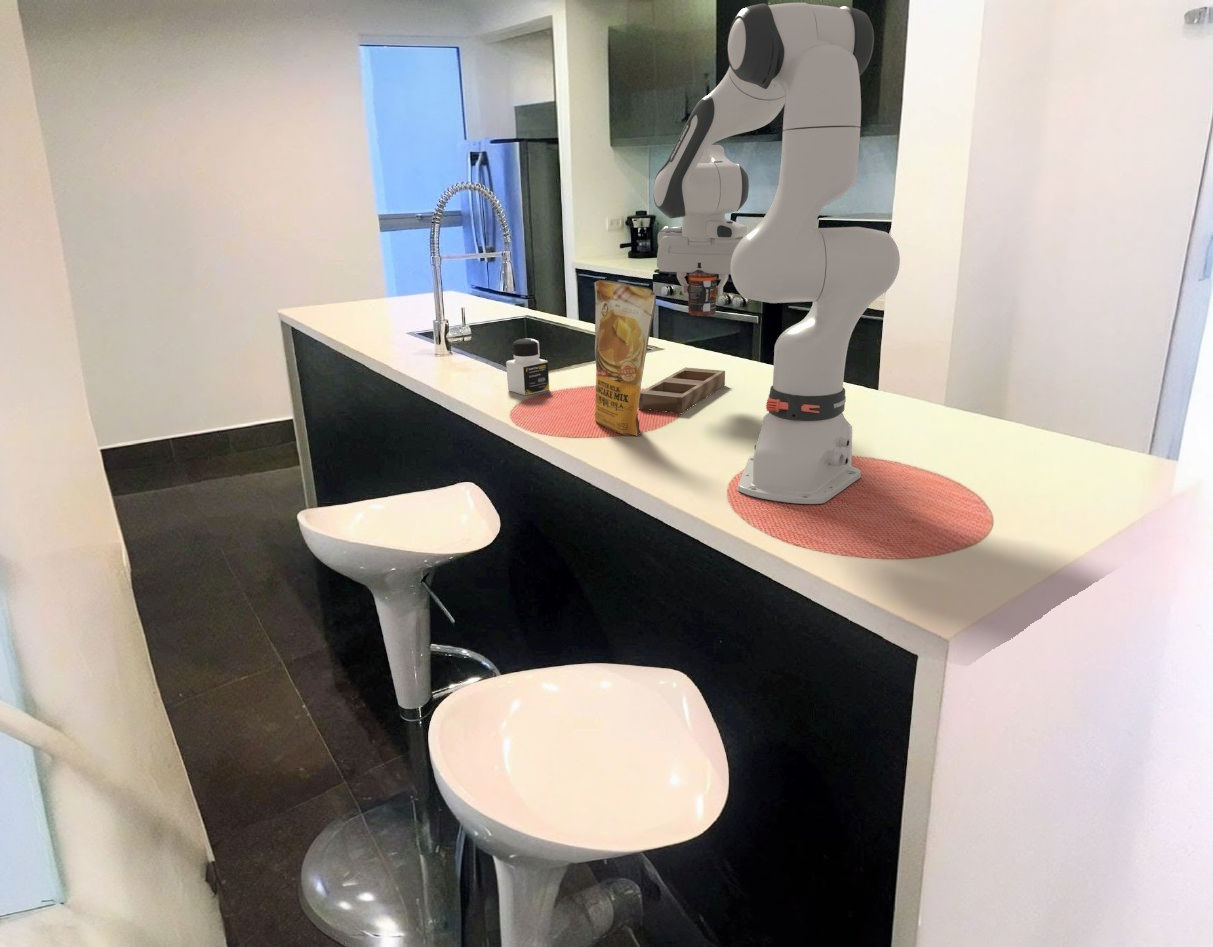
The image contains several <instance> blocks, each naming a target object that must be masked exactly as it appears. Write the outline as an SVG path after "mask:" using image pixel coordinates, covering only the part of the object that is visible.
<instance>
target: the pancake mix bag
mask: <svg viewBox="0 0 1213 947" xmlns="http://www.w3.org/2000/svg"><path fill="white" fill-rule="evenodd" d="M593 286H594V299H595V300H594V303H595V304H594V310H595V316H594V317H595V318H594V319H595V320H594V323H595V324H594V333H595V335H594V336H595V337H594V338H595V339H594V356H595V372H596V374H595V395H594V396H595V398H594V399H595V400H594V401H595V404H594V405H595V408H594V409H595V410H594V411H595V412H594V418H595V419H594V420H595V422H596V423H598V424H599V425H601V426H603V427H604V426H605V428H607V429H608V430H612V431H613V430H614V431H613V432H615V433H616V432H618V433H617V434H619V433H620V434H619V435H621V434H623V435H622V436H627V435H626V434H633V435H632V436H634V435H635V436H636V437H638V436H639V435H640V434H641V433H640V432H641V429H640V421H639V418H638V415H639V414H638V412H639V411H638V410H639V409H638V404H639V398H640V392H641V389H642V388H641V387H642V381H643V375H644V368H645V363H646V356H647V351H648V347H649V340H650V335H651V327H652V322H653V319H654V315H655V311H656V306H657V305H656V304H657V297H656V296H657V294H655V292H654V291H653V289H651V288H648V287H644V286H637V285H633V284H632V285H631V284H628V283H625V282H619V281H612V280H605V279H604V280H603V279H602V280H601V279H598V280H597V281H595V282H593ZM639 433H640V434H639ZM638 434H639V435H638ZM635 436H634V437H635Z"/></svg>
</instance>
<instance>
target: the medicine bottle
mask: <svg viewBox="0 0 1213 947" xmlns="http://www.w3.org/2000/svg"><path fill="white" fill-rule="evenodd" d="M512 352H513V354H512V355H513V359H511V360H507V361H506V362H505V365H506V366H505V367H506V379H507V390H508V391H509V392H512V393H517V394H520V395H522V396H529V395H534V394H537V393H543V392H547V391H549V390H550V378H549V375H550V374H549V361H548V360H547V359H546V360H545V359H542V358H540V357H541V356H540V342H539V340H536V339H534V338H519V339H517V340H515V341H513V343H512Z"/></svg>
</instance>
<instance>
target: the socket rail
mask: <svg viewBox="0 0 1213 947" xmlns="http://www.w3.org/2000/svg"><path fill="white" fill-rule="evenodd" d="M724 385H725V386H726V371H725V370H721V369H720V370H718V369H708V368H696V367H695V368H694V367H683V368H682V369H680V370H678V371H676V372H674V373H673V374H670V375H669V376H667V377H665V378H664V379H661V380H660V381H658V382H656V383H654V384H652V385H651V386H649V387H647V388H645V389H644V390H642V391H641V390H640V398H639V404H638V408H640V409H639V410H642V409H651V410H657V411H656V412H660V411H667V412H666V413H669V412H673V413H672V414H678V413H682V414H684V413H685V412H687V411H688V410H690V409H691V408H693V407H694V406H696V405H697V404H699V403H701V402H702V401H704V400H705V399H707V398H708V397H710V396H711V395H712V393H713V392H714V393H716V392H717V391H719V390H720V389H722V388H723V387H725V386H724ZM722 386H723V387H722ZM721 387H722V388H721ZM719 388H720V389H719ZM718 389H719V390H718ZM716 390H717V391H716ZM715 391H716V392H715ZM714 393H713V394H714ZM710 394H711V395H710ZM709 395H710V396H709ZM707 396H708V397H707ZM706 397H707V398H706ZM703 399H704V400H703ZM695 404H696V405H695ZM693 405H694V406H693ZM692 406H693V407H692ZM690 407H691V408H690ZM689 408H690V409H689ZM687 409H688V410H687ZM651 410H650V411H651ZM683 412H684V413H683Z"/></svg>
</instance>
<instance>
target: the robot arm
mask: <svg viewBox="0 0 1213 947" xmlns="http://www.w3.org/2000/svg"><path fill="white" fill-rule="evenodd" d="M872 24H873V23H872V22H871V19H870V17H869V16H868V14H867V13H866V12H864V11H862V10H861V9H858V8H854V7H850V6H841V7H836V6H829V5H824V4H811V3H810V4H809V3H808V2H784V3H783V2H782V3H777V4H776V3H775V4H767V3H764V2H763V3H757V4H754V5H749V6H746V7H745V8H742V9H741V10H740V11H739V12H738V13H737V15H736V16H735V17H734V19H733V21H732V23H731V26H730V29H729V34H728V41H727V58H728V63H729V64H728V65H729V67H728V69H727V71H726V72H725V73H726V74H725V75H724V77H723V78H722V80H721V81H720V82H719V83H718V85H717V86H716V87H715V88H714V89H713V90H711V92H710V93H708V95H705V96H704V97H703V98H701V99H700V100H698V102H697V103H696V105H695V106H694V108H693V110H692V112H691V113H690V115H689V117H688V120H687V121H686V123H685V125H684V127H683V128H682V130H681V132H680V134H679V136H678V139H677V141H676V142H675V144H674V147H673V149H672V151H671V152H670V155H669V156H668V158H667V159H666V162H665V163H664V164H663V165H662V166H661V168H660V169H659V170H658V172H657V173H656V176H655V178H654V182H653V189H652V190H653V192H652V193H653V201H654V205H655V207H656V208H658V210H659V211H660V212H661V213H662V214H664V216H666V217H668V218H669V219H676V218H681V226H674V227H673V226H672V227H671V226H664V227H663V228H662V229H660V230H659V232H658V233H657V245H658V248H657V255H656V256H657V257H656V268H657V269H658V270H659V272H668V273H669V272H670V273H676V278H677V280H678V282H679V284H680V285H681V294H683V295H684V294H685V295H686V294H687V295H688V292H689V283H687V280H686V278H685V277H686V276H687V273H691V272H694V271H696V270H702V271H703V272H705V273H709V274H716V275H718V280H720V282H719V283H718V285H716V287H714V295H716V297H717V296H719V297H721V296H723V294H724V286H725V285H726V283H727V281H728V280H729V275H730V276H731V281H732V283H733V286H734V287H735V289H736V291H737V292H738V293H739V294H740V295H741V297H743V299H746V300H752V301H756V302H757V301H758V302H764V303H769V304H778V303H779V304H783V303H785V304H786V303H806V302H812V306H811V307H810V309H809V312H807V314H806V316H805V317H804V318H803V319H802V320H801V321H799V322H797V323H795V324H793V325H791V326H790V327H788V328H786V329H785V330H784V331H783V332H782V333H781V334H780V335H779V337H777V339H776V342H775V344H774V350H773V352H774V356H773V375H772V376H773V377H772V385H771V386H770V389H769V394H768V398H767V400H766V404H765V409H766V411H767V412H768V413H766V414H764V415H763V417H762V424H761V428H760V431H759V435H758V438H757V441H756V443H755V445H754V452H753V455H750V456H749V457H748V458H747V461H746V464H745V467H744V469H743V471H742V474H741V476H740V478H739V481H738V485H737V491H738V492H740V493H742V494H744V495H747V496H751V497H755V498H758V499H763V500H768V501H773V502H782V503H788V504H790V503H791V504H803V505H818V504H821V505H822V504H824V503H825V504H826V503H827V502H828V501H830V500H831V499H832V498H833V497H835V496H836V495H838V494H839V493H841V492H842V491H844V490H845V489H846V488H847V487H849V486H851V485H852V484H853V483H854V482H856V481H858V480H859V479H861V477H862V476H861V475H862V471H861V470H860V469H859V468H857V467H855V466H852V458H853V456H852V454H853V425H852V424H851V423H850V422H849V421H848V420H847V419H846V417H845V414H844V413H843V412H844V411H845V408H846V407H845V406H846V397H847V396H846V389H845V388H844V379H845V378H844V377H845V368H846V361H847V354H848V347H849V344H850V339H851V337H852V333H853V331H854V330H855V327H856V325H857V323H858V322H859V319H860V318H861V317H862V315H863V314H864V312H865V311H866V310H867V309H868V308H869V307H870V306H871V304H872V303H873V302H875V301H876V300H877V299H878V298H880V296H883V294H885V293H886V292H887V291H888V290H889V289H890V288H891V287H892V285H893V284H894V283H895V281H896V279H897V276H898V273H899V270H900V264H901V261H900V260H901V259H900V258H901V257H900V252H899V248H898V246H897V244H896V242H895V240H894V238H893V237H892V236H891V235H890V234H889V233H888V232H886V231H883V230H880V229H879V230H878V229H874V228H867V227H862V226H847V227H845V226H841V227H840V226H839V227H817V221H818V217H819V216H820V214H821V212H822V211H823V209H824V208H825V207H826V206H828V205H830V204H832V203H834V202H837V200H839V199H841V198H842V197H844V196H846V195H847V194H848V193H849V191H850V190H852V188H853V187H854V186H855V185H854V184H855V183H856V181H857V178H858V171H859V154H860V153H859V152H860V138H861V137H860V136H861V126H862V125H861V120H862V98H861V96H862V95H861V94H862V93H861V82H860V76H862V74H864V72H865V70H866V69H867V67H868V65H869V63H870V60H871V59H872V55H873V52H874V44H875V34H874V27H873V25H872ZM782 109H784V110H783V120H782V122H783V124H782V140H781V141H782V143H781V155H780V156H781V157H780V158H781V160H780V168H779V169H780V170H779V177H778V183H777V188H776V192H775V195H774V197H773V200H772V202H771V204H770V207H769V209H768V210H767V212H766V213H765V215H764V217H763V218H762V219H761V220H760V222H759V223H758V224H757V225H755V227H754V228H753V229H752V230H751V231H750V232H749V233H747V232H748V228H747V226H746V225H745V224H742V223H739V222H736V221H734V220H732V219H729V218H726V217H725V215H726V214H732V213H736V212H738V211H739V210H740V209H741V208H742V207H743V206H744V205H745V203H746V202H747V200H748V196H749V188H750V184H749V174H748V173H747V172H746V171H745V169H744V168H743V167H742V166H741V165H740V164H739V163H735V162H733V161H731V160H730V159H729V158H728V157H727V156H726V153H725V149H724V147H723V146H722V145H720V144H717V142H718V141H722V140H724V139H726V138H729V137H732V136H736V135H740V134H745V133H747V132H751V131H755V130H757V129H760V128H762V127H765V126H766V125H768V124H770V123H771V122H772V121H774V120H775V118H776V117H777V116H778V115H779V113H780V112H781V111H782ZM698 263H701V267H702V268H697V267H698Z"/></svg>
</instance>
